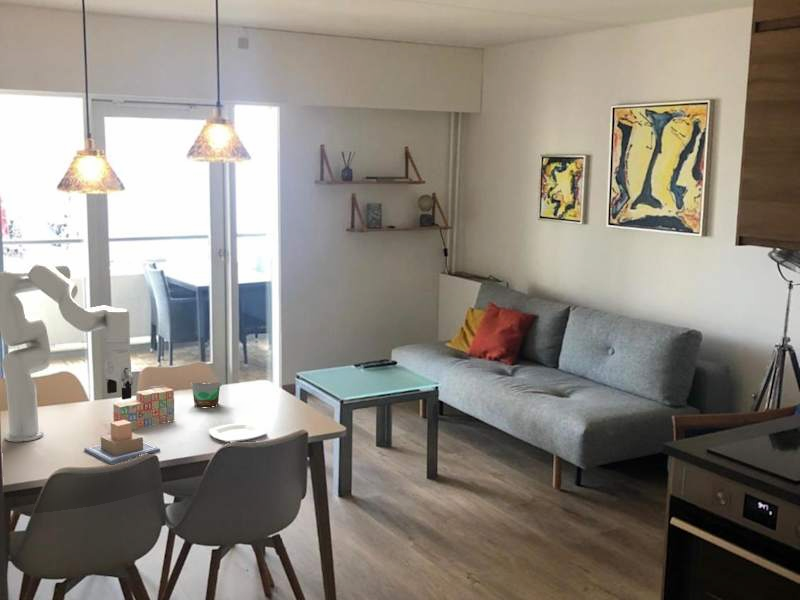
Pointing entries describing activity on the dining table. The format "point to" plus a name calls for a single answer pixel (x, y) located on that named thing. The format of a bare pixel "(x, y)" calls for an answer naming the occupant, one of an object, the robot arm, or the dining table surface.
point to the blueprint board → (120, 448)
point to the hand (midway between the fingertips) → (119, 395)
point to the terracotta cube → (121, 429)
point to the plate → (237, 432)
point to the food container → (206, 393)
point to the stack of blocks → (147, 408)
